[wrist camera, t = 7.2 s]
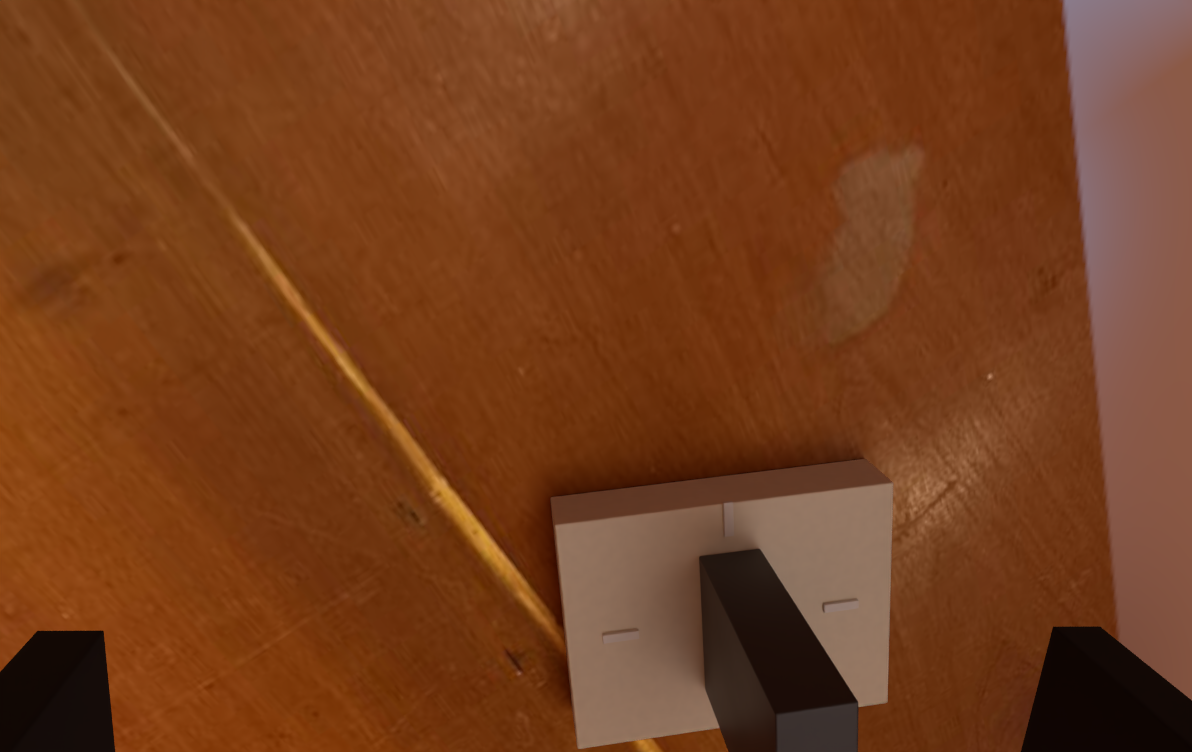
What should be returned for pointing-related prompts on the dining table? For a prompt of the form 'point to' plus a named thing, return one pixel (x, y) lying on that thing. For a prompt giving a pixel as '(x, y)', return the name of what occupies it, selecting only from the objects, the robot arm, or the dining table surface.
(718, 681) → the dark grey rectangular block
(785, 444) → the dining table surface
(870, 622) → the panel
